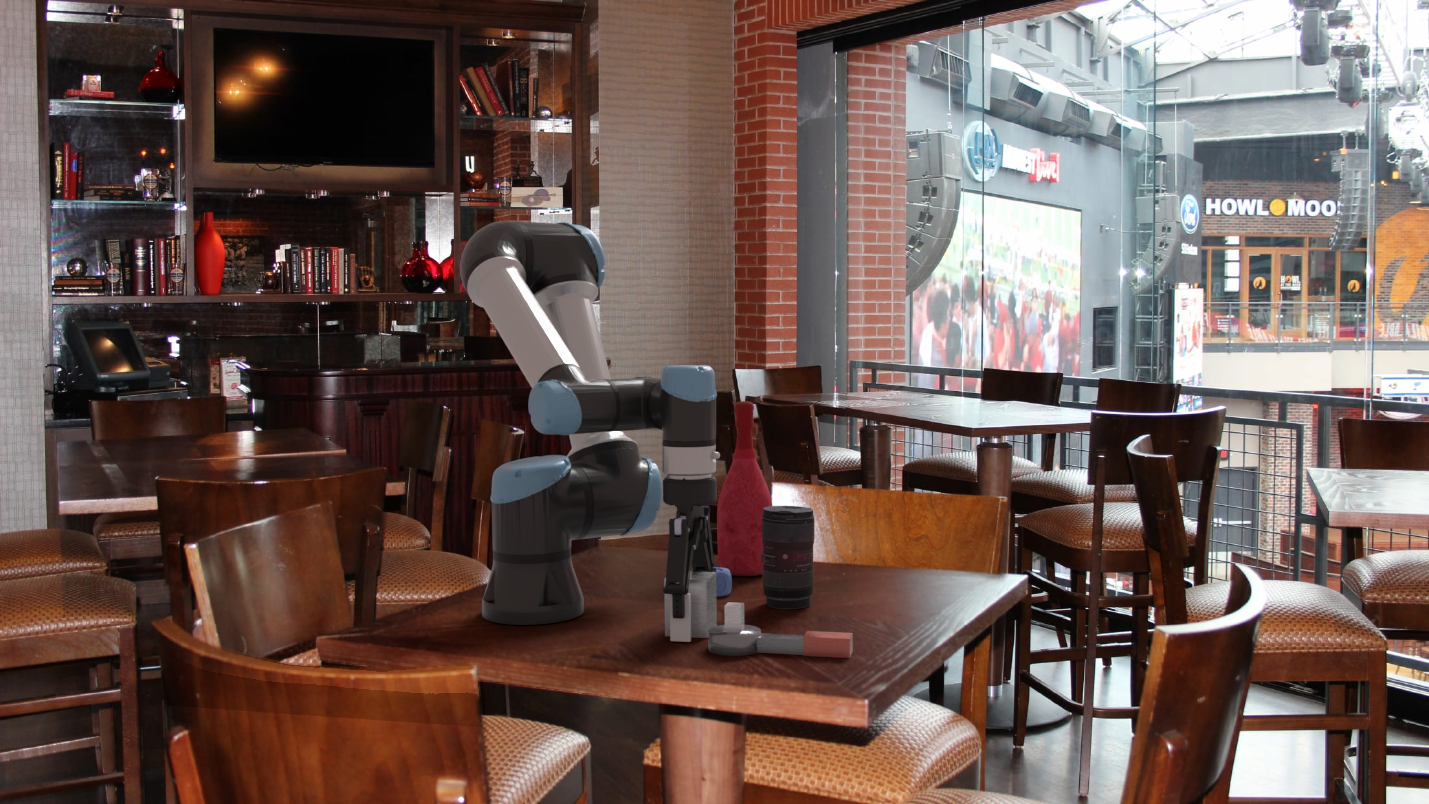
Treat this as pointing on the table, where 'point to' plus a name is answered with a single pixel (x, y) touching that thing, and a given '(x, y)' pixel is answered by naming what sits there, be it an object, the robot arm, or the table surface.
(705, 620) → the light grey block
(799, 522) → the camera lens
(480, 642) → the table surface
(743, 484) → the wine bottle
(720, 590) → the decorative dice
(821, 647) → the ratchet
